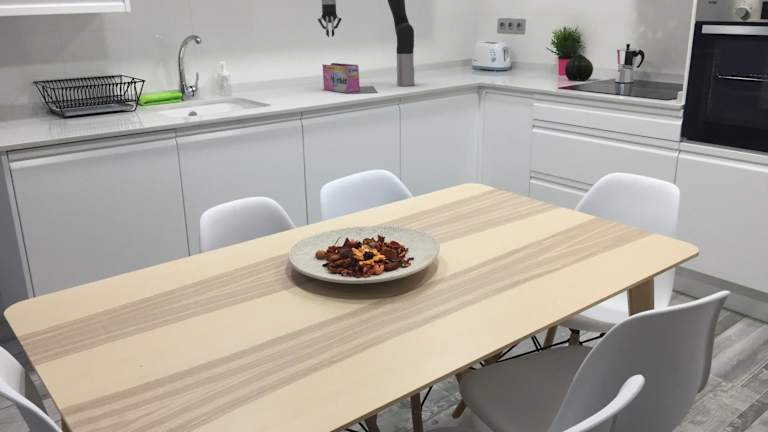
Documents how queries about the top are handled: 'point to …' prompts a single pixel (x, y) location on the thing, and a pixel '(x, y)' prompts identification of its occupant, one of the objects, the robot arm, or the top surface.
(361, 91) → the mat
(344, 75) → the gum box
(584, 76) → the squash
